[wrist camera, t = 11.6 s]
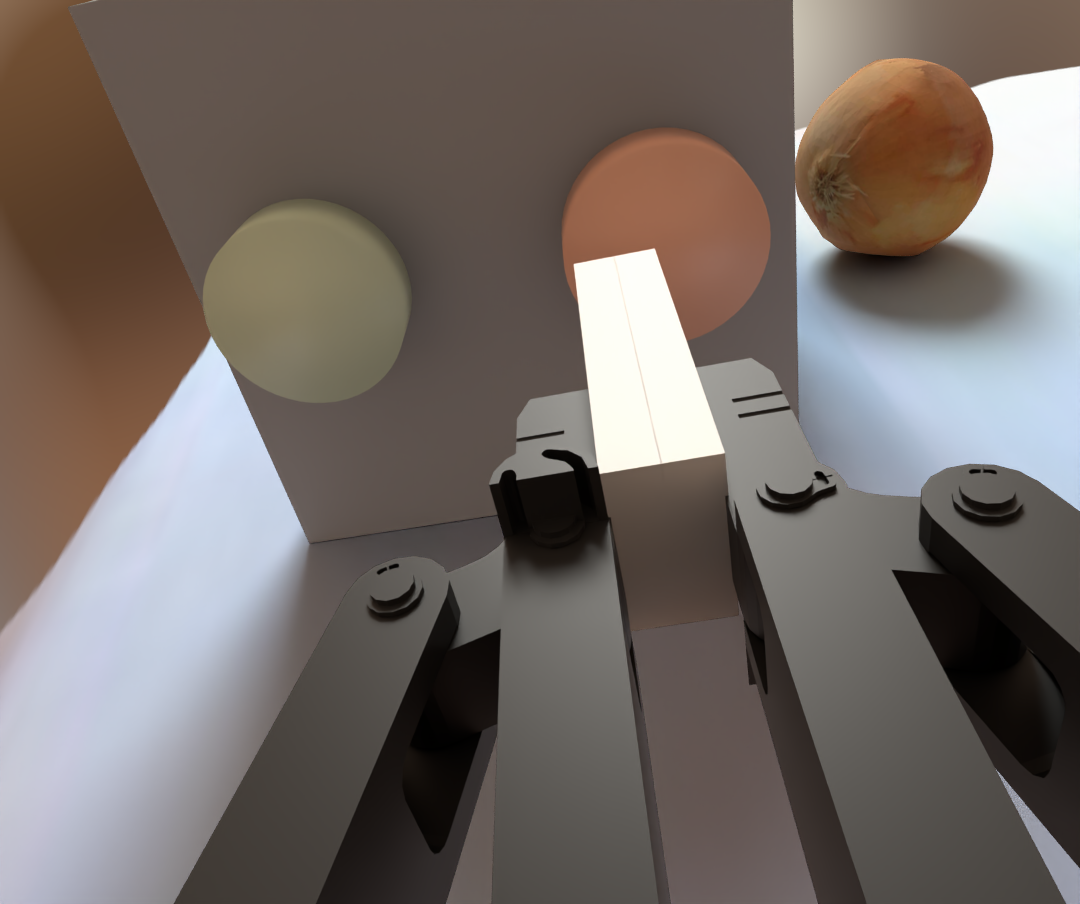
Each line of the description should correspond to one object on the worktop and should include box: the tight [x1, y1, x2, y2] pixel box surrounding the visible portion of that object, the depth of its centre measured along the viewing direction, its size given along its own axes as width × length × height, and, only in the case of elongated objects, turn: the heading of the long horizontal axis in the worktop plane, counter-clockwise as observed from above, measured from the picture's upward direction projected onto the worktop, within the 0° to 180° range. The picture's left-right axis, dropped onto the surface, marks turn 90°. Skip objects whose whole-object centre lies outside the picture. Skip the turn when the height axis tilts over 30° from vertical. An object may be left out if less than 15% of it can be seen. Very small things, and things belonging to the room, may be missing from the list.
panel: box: [68, 0, 799, 543], centre depth 29 cm, size 3×20×20 cm, turn 90°
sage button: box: [203, 199, 412, 403], centre depth 29 cm, size 8×6×6 cm
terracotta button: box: [561, 127, 771, 341], centre depth 28 cm, size 8×6×6 cm
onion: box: [795, 58, 993, 256], centre depth 44 cm, size 10×10×10 cm
